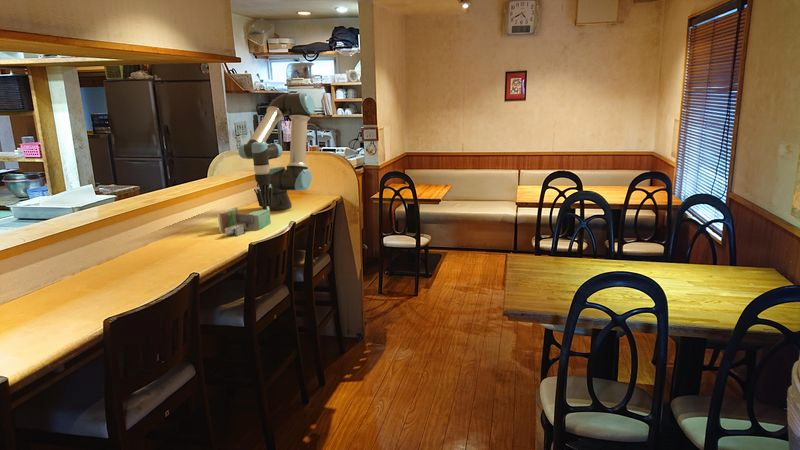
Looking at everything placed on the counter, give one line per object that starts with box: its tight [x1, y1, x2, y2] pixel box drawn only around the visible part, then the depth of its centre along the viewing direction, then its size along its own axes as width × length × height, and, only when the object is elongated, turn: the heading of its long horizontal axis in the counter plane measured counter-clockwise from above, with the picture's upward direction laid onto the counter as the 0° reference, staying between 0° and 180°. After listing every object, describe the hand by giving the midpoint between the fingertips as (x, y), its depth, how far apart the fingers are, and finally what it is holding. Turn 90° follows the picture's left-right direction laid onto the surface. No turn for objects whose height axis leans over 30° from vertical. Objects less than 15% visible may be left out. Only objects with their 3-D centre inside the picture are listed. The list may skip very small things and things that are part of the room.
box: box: [245, 209, 272, 231], centre depth 262 cm, size 7×14×8 cm, turn 169°
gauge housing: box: [217, 206, 246, 237], centre depth 254 cm, size 15×12×10 cm
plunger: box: [225, 213, 253, 235], centre depth 250 cm, size 14×12×6 cm
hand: (267, 218), depth 271 cm, fingers closed
